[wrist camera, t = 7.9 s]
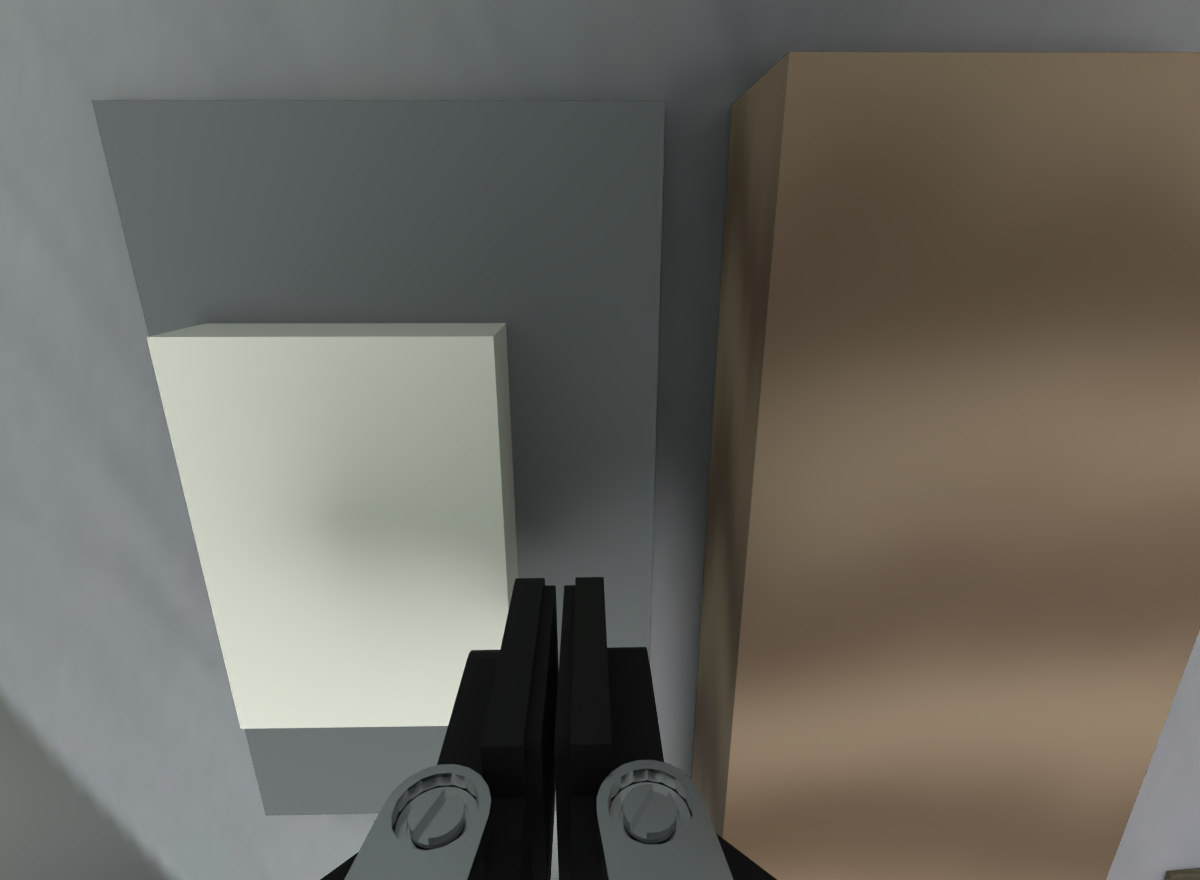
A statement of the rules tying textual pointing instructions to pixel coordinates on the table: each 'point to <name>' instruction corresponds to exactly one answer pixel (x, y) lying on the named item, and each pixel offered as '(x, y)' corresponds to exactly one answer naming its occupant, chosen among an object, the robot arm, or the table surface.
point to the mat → (430, 313)
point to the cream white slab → (346, 510)
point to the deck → (951, 461)
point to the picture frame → (1183, 874)
